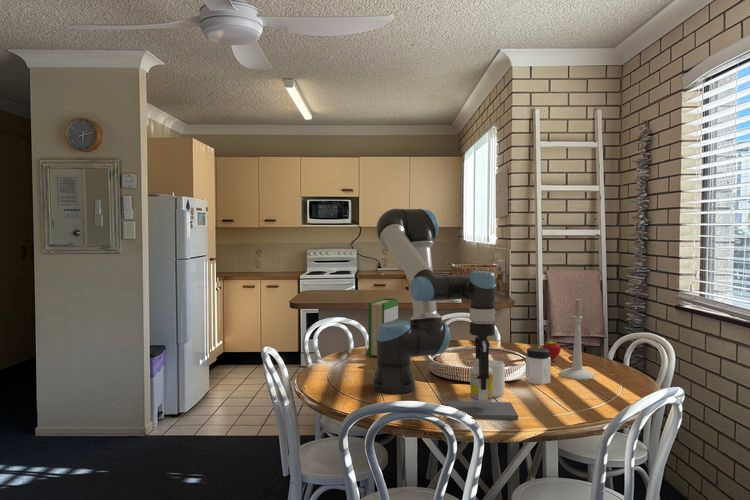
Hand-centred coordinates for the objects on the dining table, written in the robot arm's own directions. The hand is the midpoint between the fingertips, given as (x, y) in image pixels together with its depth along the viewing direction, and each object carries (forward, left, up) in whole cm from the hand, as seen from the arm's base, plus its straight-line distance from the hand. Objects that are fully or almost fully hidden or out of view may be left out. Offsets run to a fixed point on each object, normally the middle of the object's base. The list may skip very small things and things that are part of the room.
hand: (481, 395), depth 175 cm
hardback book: (-34, +80, -5) cm, 87 cm away
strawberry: (+38, +71, -5) cm, 81 cm away
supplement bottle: (0, 0, -2) cm, 2 cm away
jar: (+25, +37, -5) cm, 45 cm away
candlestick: (+42, +47, -5) cm, 63 cm away
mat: (0, 0, -5) cm, 5 cm away
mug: (+4, +20, -5) cm, 21 cm away
